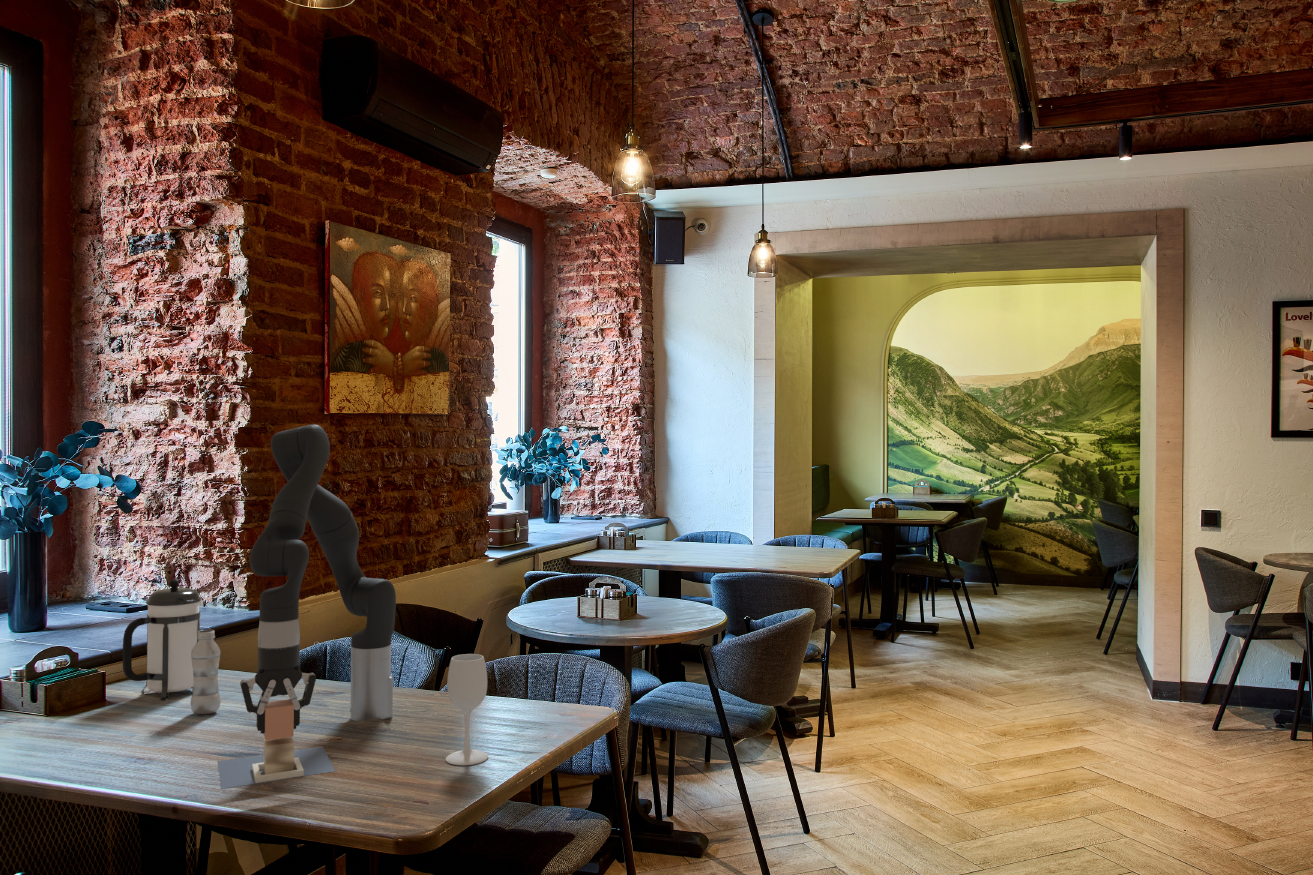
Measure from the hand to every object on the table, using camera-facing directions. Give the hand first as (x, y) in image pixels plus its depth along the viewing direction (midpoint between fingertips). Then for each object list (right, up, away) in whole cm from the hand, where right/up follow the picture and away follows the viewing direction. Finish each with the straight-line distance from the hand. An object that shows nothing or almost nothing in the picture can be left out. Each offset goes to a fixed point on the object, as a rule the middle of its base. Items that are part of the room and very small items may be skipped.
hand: (278, 729), depth 175 cm
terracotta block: (0, -1, 0) cm, 1 cm away
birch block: (0, -8, 0) cm, 8 cm away
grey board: (-2, -10, +3) cm, 10 cm away
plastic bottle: (-37, -11, +45) cm, 59 cm away
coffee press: (-55, -11, +62) cm, 84 cm away
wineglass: (+34, -10, +12) cm, 38 cm away
